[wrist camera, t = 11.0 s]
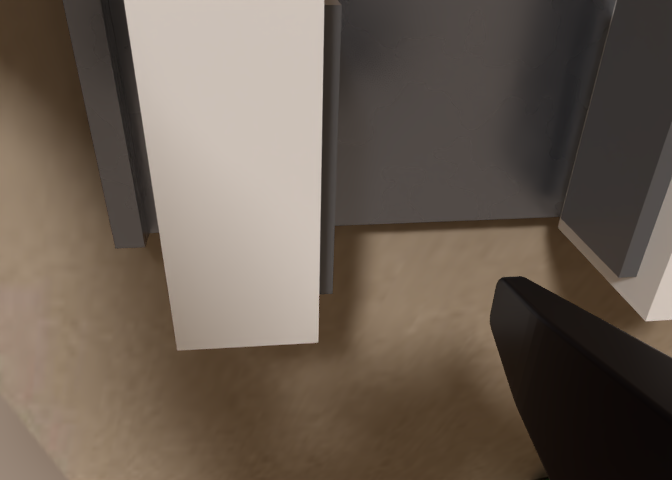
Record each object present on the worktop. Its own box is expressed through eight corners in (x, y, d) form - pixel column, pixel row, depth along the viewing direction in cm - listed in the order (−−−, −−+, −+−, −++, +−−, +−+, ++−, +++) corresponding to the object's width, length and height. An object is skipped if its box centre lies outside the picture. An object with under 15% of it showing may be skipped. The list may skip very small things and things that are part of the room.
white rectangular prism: (197, 241, 21) (177, 350, 16) (162, -62, 16) (116, -47, 11) (317, 237, 21) (335, 342, 16) (321, -58, 16) (349, -42, 11)
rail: (75, -43, 17) (54, -37, 15) (796, -33, 19) (848, -28, 18) (127, 221, 21) (115, 248, 20) (703, 199, 24) (738, 221, 22)
